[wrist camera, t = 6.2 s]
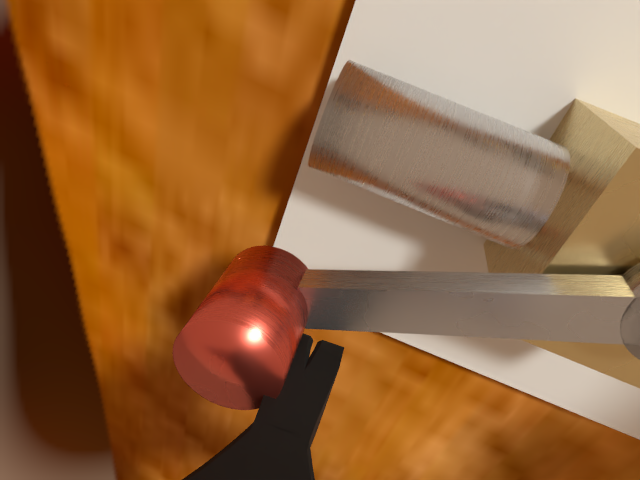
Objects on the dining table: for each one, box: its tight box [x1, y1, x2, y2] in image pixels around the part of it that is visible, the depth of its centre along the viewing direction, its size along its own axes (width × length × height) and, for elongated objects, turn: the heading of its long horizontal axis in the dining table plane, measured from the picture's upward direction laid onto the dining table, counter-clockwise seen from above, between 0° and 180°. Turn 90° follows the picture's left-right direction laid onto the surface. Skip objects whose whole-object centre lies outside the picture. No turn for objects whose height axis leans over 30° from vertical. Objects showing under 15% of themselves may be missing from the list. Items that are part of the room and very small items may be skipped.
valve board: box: [273, 0, 640, 440], centre depth 14 cm, size 18×15×1 cm
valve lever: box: [173, 246, 640, 410], centre depth 10 cm, size 11×2×3 cm, turn 96°
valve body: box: [308, 60, 640, 388], centre depth 12 cm, size 17×5×4 cm, turn 71°
